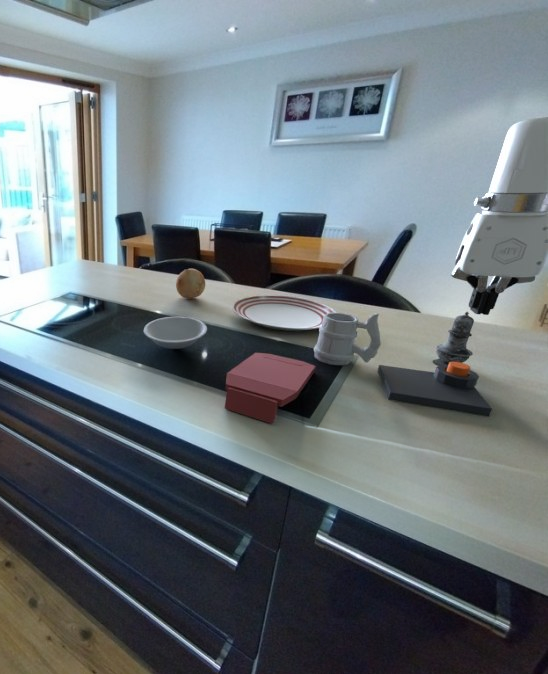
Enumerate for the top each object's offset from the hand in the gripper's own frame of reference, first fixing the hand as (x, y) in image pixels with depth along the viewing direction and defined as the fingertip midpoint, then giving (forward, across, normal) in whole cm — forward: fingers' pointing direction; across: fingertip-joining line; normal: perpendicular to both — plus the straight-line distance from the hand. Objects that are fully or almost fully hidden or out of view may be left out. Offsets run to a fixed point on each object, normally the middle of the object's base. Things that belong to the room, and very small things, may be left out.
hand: (478, 312), depth 70 cm
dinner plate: (+14, -31, +28) cm, 44 cm away
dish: (+14, -54, -2) cm, 56 cm away
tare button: (+12, -1, -2) cm, 12 cm away
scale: (+15, -6, -6) cm, 17 cm away
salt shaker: (+15, +2, +9) cm, 18 cm away
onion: (+14, -60, +40) cm, 74 cm away
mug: (+15, -18, +4) cm, 24 cm away
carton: (+14, -33, -14) cm, 38 cm away
